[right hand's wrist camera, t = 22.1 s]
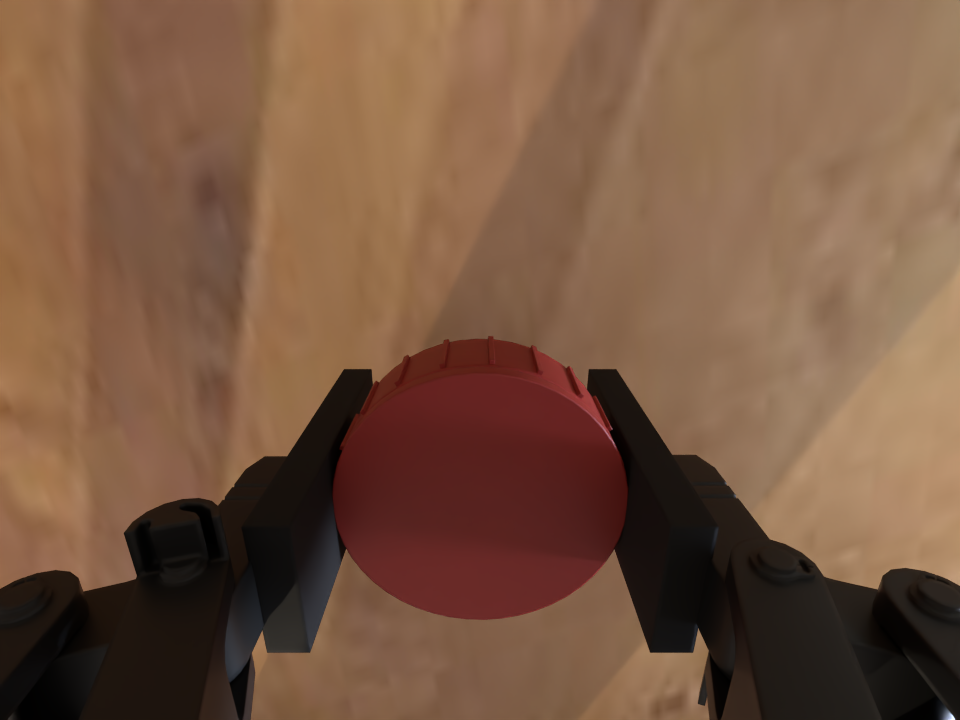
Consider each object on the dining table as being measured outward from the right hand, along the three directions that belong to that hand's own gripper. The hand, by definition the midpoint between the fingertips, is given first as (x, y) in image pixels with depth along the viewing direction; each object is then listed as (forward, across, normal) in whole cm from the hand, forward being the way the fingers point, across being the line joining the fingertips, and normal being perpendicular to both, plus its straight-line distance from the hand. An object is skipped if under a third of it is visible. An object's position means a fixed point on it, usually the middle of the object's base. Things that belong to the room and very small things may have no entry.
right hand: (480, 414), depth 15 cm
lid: (-4, 0, 0) cm, 4 cm away
